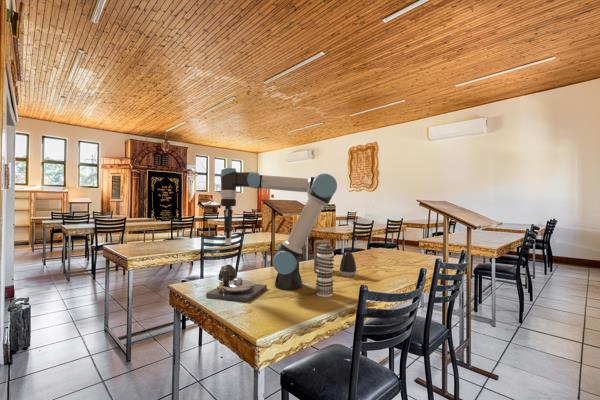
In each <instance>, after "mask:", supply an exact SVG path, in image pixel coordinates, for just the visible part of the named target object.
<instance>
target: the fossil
mask: <svg viewBox="0 0 600 400" xmlns="http://www.w3.org/2000/svg"><path fill="white" fill-rule="evenodd" d="M223 270H230V275H229V281H233V280H234V278H238V272H237V271H236V269H235V267H234V266H233V265H232V264H231V263H230V264H228V263H227V264H225V265H222V266H221V267H220V270H219V272H218V280H221V279H222V280H223Z"/></svg>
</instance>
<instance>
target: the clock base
mask: <svg viewBox="0 0 600 400" xmlns="http://www.w3.org/2000/svg"><path fill="white" fill-rule="evenodd" d="M218 282H219V283H218V286H219V290H216V288H214V289H211V290H210V291H208V292H206V293H205V298H207V299H208V298H209V299H218V300H225V301H233V302H234V301H235V302H241V303H249V302H250V301H251V300H253V299H254V298H256V297H257V296H259V295H260V294H261V293H263V292H264V291H266V290H267V289H268V285H267V284H260V283H254V288H253V289H251V290H248V291H243V292H228V291H224V290H223V281H218Z"/></svg>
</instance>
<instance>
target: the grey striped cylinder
mask: <svg viewBox="0 0 600 400" xmlns="http://www.w3.org/2000/svg"><path fill="white" fill-rule="evenodd" d="M319 244H330V245H331V241H330V240H328V239H327V240H326V239H324V240H323V239H316V240H315V241H314V243H313V246H314V247H313V272H314V273H317V271H316V266H317V265H316V259H317V258H316V255H317V253H318V251H317V250H318V248H317V247H318V246H319ZM317 264H318V263H317Z"/></svg>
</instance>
